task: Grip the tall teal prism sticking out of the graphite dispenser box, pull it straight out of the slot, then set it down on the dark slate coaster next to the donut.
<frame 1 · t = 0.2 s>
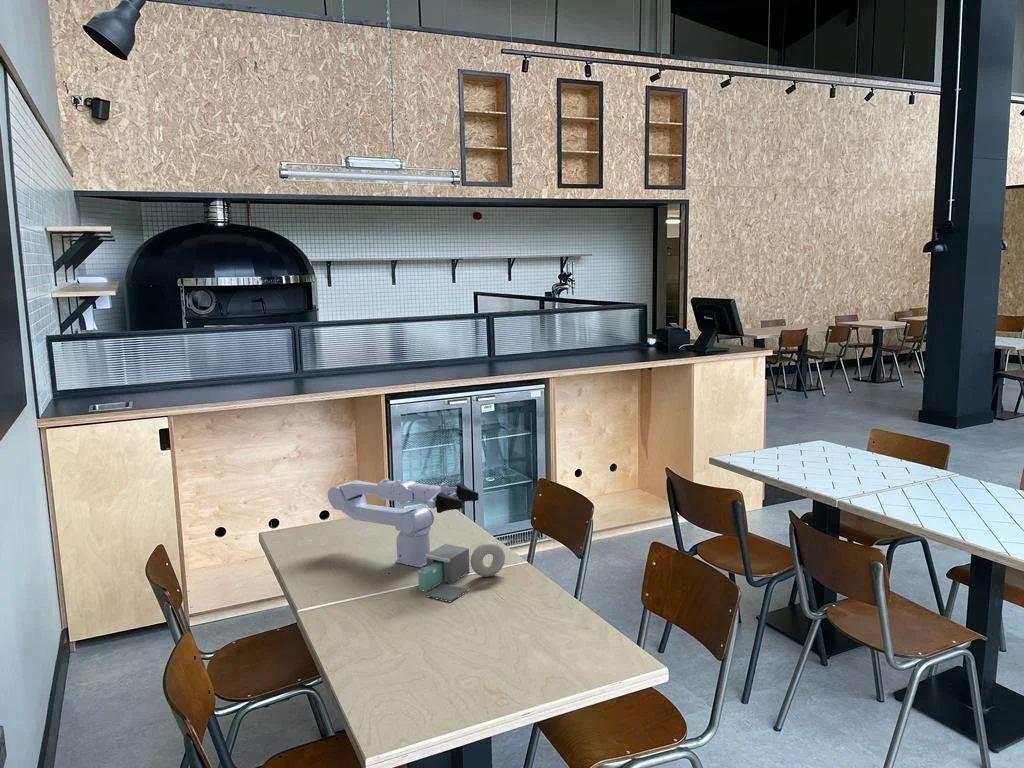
hand: (469, 500, 212), 21 cm above the table, tool horizontal, fingers open, 7 cm apart
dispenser: (447, 575, 214), on the table
donut: (488, 577, 213), on the table
tall teal prism: (434, 584, 209), on the table
coaster: (447, 593, 202), on the table
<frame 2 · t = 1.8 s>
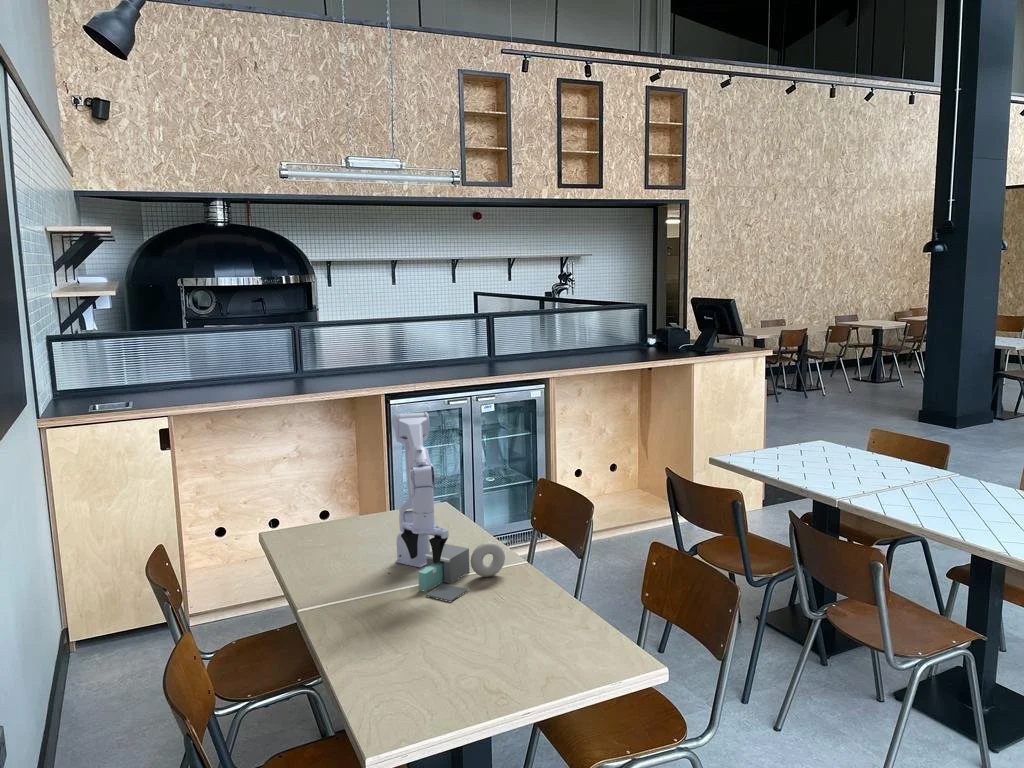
hand: (425, 559, 204), 8 cm above the table, tool pointing down, fingers open, 7 cm apart
nothing on the table moved.
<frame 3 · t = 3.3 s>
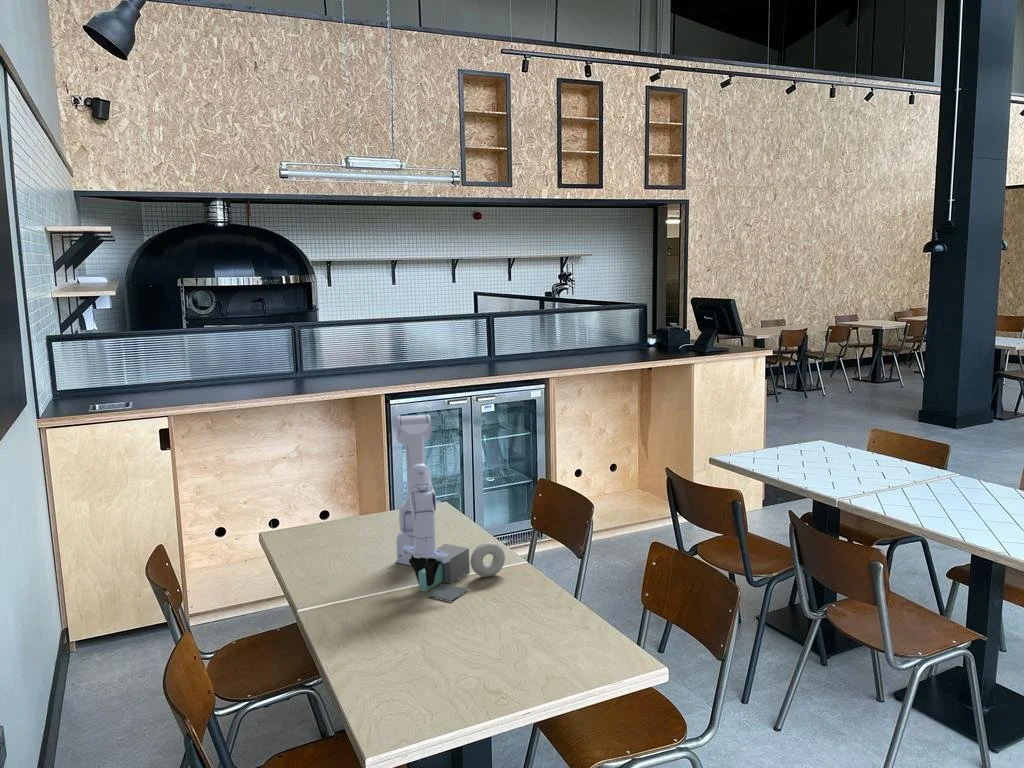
hand: (426, 583, 205), 1 cm above the table, tool pointing down, fingers closed on tall teal prism, 2 cm apart
tall teal prism: (434, 583, 209), on the table, touching gripper
everything else where it was.
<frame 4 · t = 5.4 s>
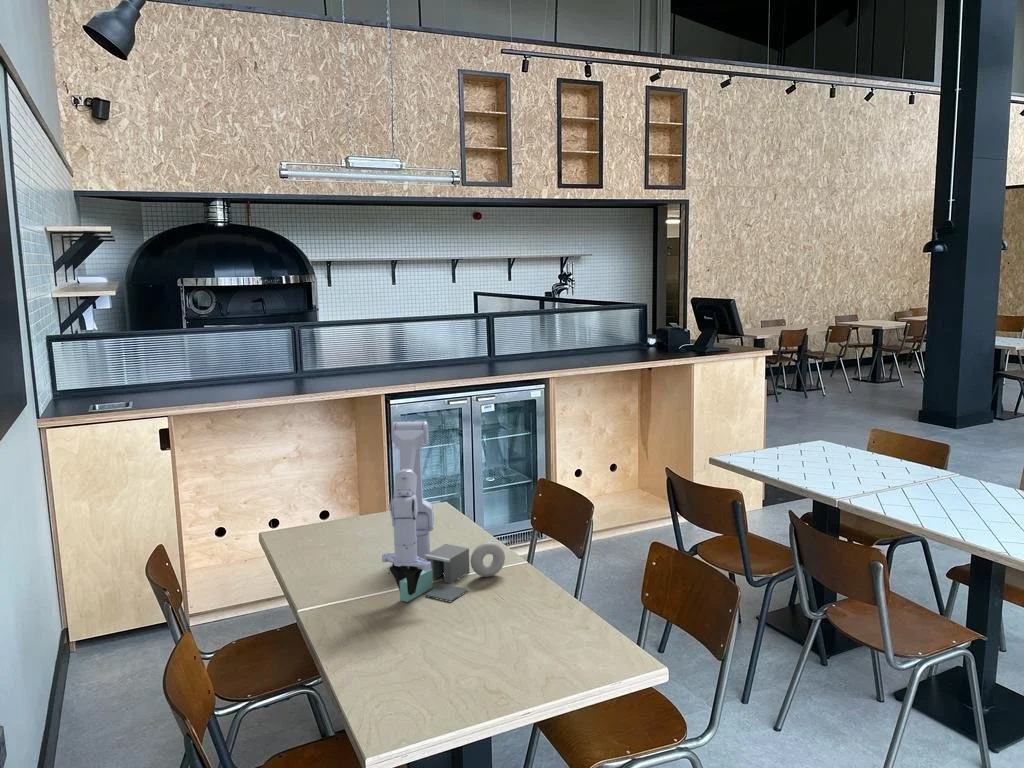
hand: (407, 592, 198), 2 cm above the table, tool pointing down, fingers closed on tall teal prism, 2 cm apart
tall teal prism: (416, 593, 202), on the table, touching gripper
everything else where it was.
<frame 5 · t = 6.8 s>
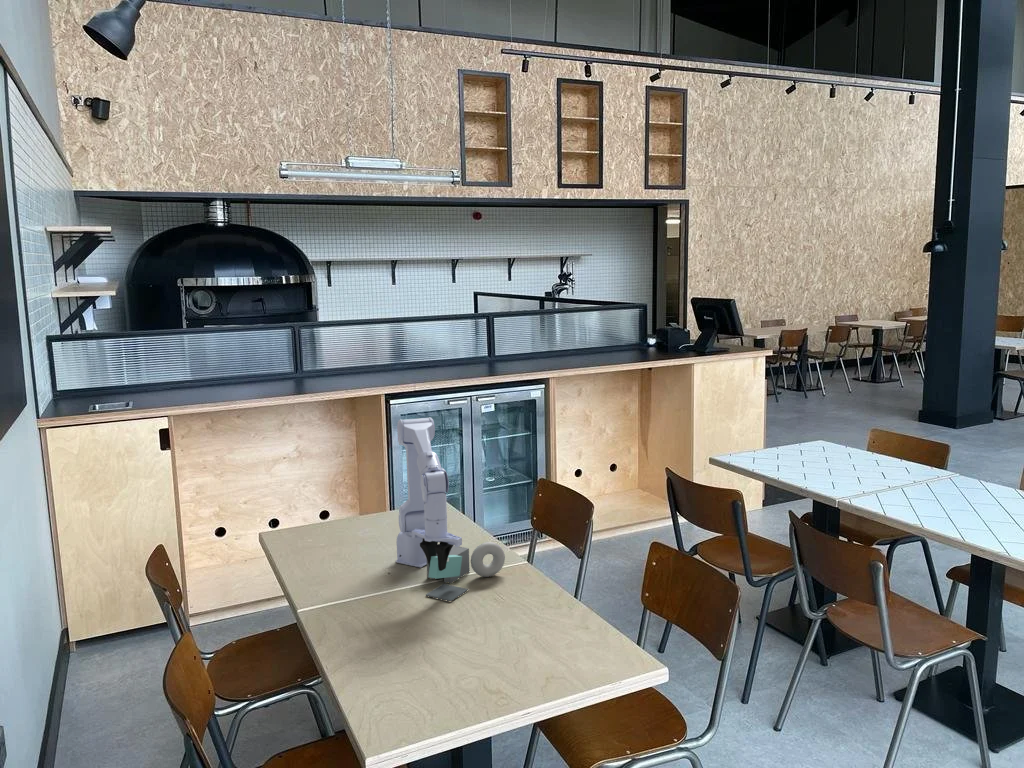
hand: (437, 568, 197), 8 cm above the table, tool pointing down, fingers closed on tall teal prism, 2 cm apart
tall teal prism: (444, 576, 200), point 5 cm above the table, tilted 17°, touching gripper
everything else where it was.
when the fingers open (3 cm above the table, at t = 8.0 s): tall teal prism stays where it is, resting on coaster.
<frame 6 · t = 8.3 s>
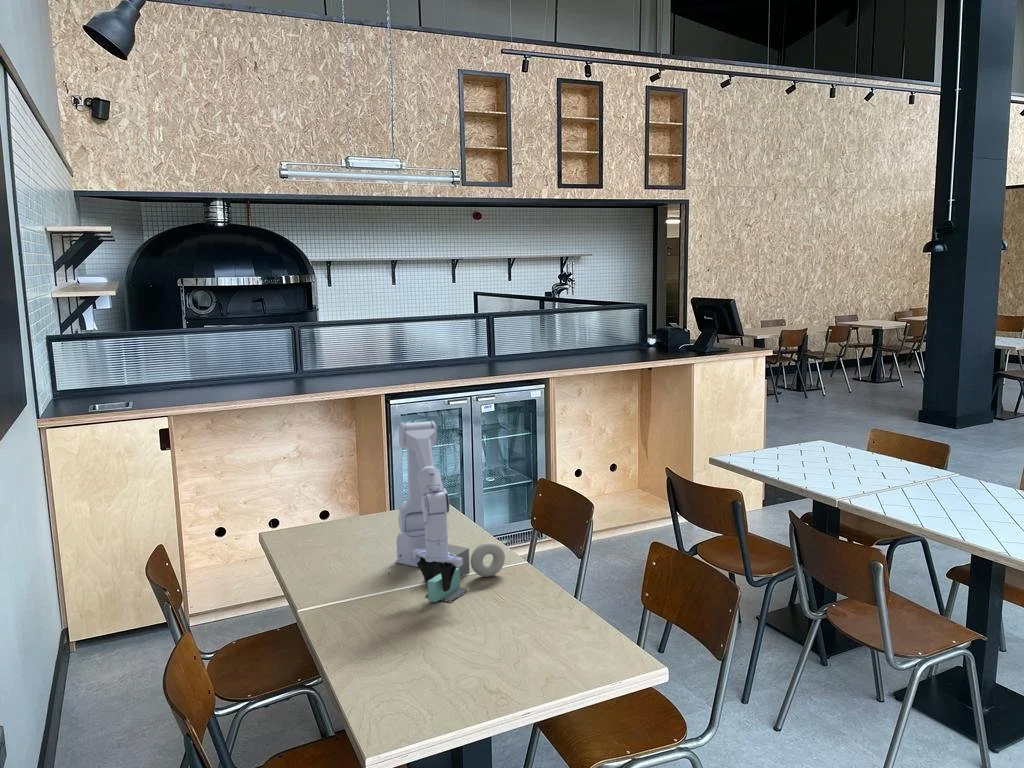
hand: (438, 588, 198), 3 cm above the table, tool pointing down, fingers open, 5 cm apart
tall teal prism: (444, 593, 200), point 1 cm above the table, touching coaster
everything else where it was.
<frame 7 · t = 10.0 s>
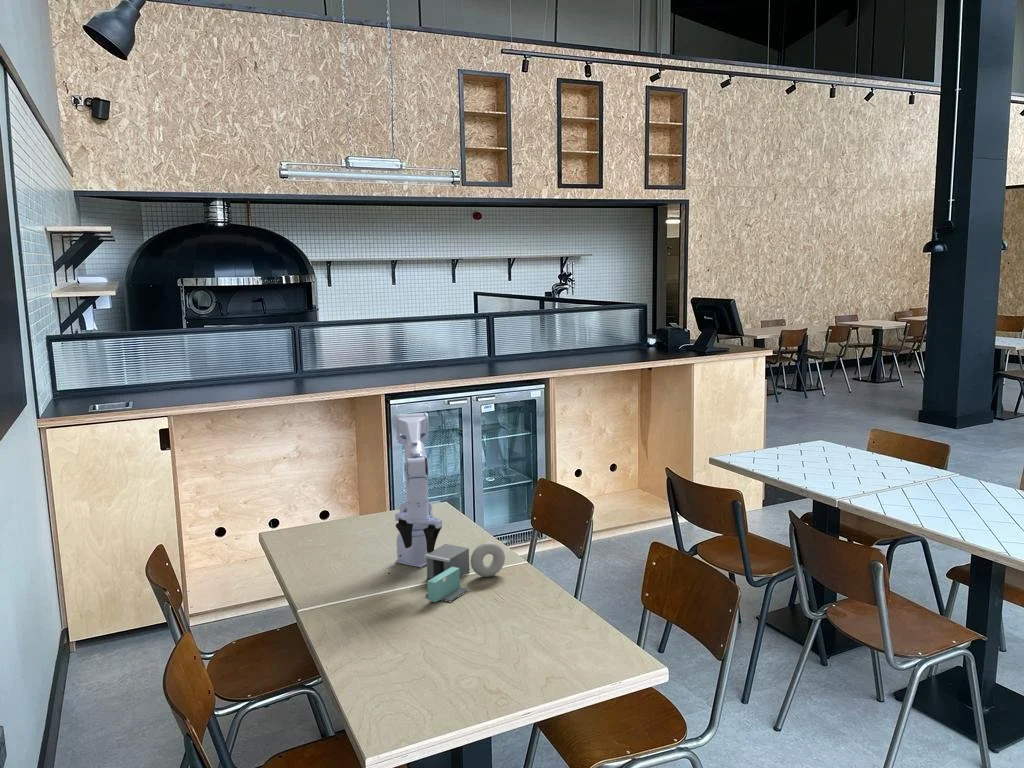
hand: (419, 549, 208), 9 cm above the table, tool pointing down, fingers open, 7 cm apart
nothing on the table moved.
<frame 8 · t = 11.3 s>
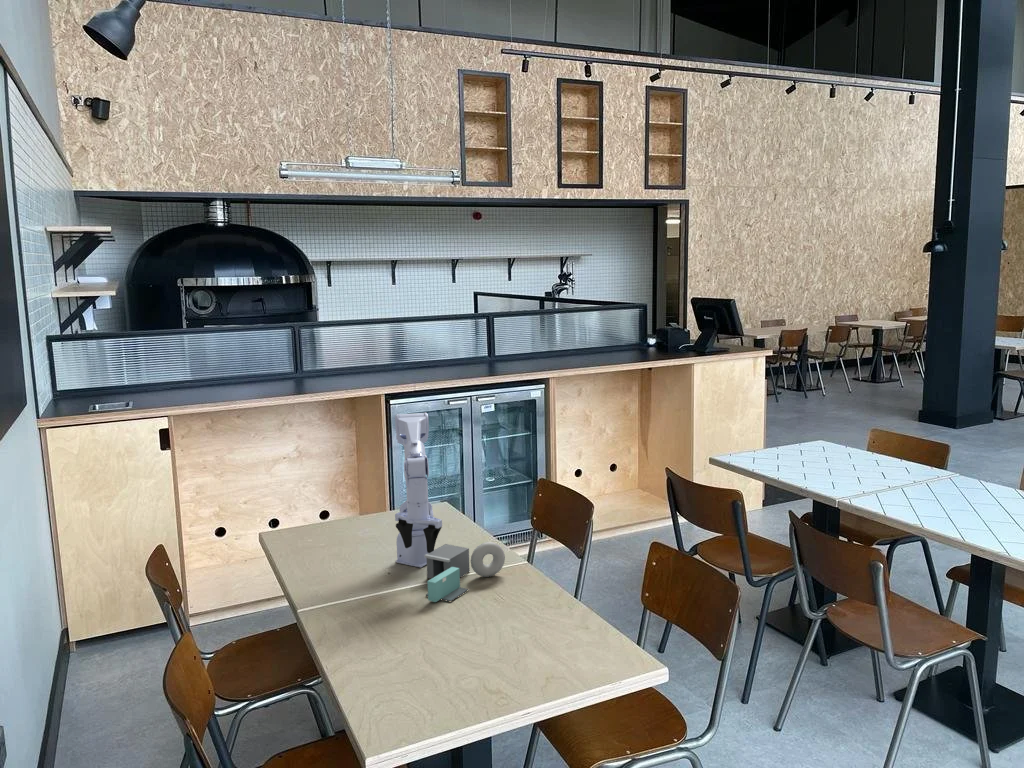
hand: (419, 549, 208), 9 cm above the table, tool pointing down, fingers open, 7 cm apart
nothing on the table moved.
at the end: tall teal prism inside the target area on the coaster (1.3 cm from its centre), point 0.6 cm above the coaster's base; tall teal prism touching coaster; the gripper is holding nothing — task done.
